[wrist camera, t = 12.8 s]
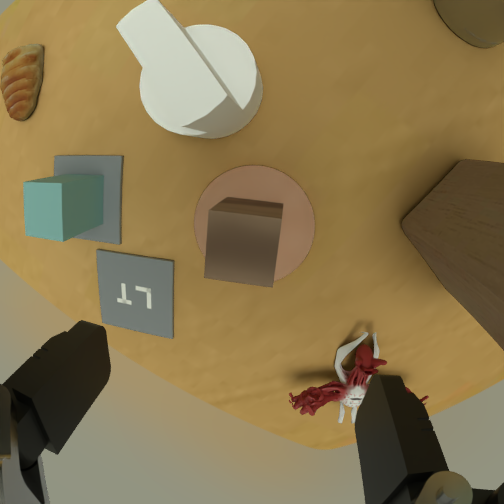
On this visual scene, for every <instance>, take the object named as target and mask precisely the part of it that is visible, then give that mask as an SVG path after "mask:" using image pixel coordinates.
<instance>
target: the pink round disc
mask: <svg viewBox="0 0 504 504" xmlns="http://www.w3.org/2000/svg"><path fill="white" fill-rule="evenodd" d="M226 197H234V198H243V199H252V200H260V201H268V202H276V203H283V213H282V222H281V230H280V238H279V245H278V253H277V260H276V268H275V275H274V281H276V280H279V279H281V278H283V277H285V276H287V275H288V274H290V273H291V272H293V271H294V270H295V269H296V268H297V267H298V266H299V265H300V264H301V263H302V262H303V260H304V259H305V258H306V256H307V254H308V252H309V251H310V248H311V246H312V243H313V239H314V233H315V219H314V213H313V209H312V206H311V203H310V201H309V199H308V197H307V195H306V194H305V192H304V191H303V189H302V188H301V187H300V186H299V185H298V184H297V183H296V182H295V181H294V180H293V179H292V178H291V177H289V176H288V175H286V174H285V173H283V172H281V171H278V170H276V169H273V168H270V167H266V166H259V165H249V166H242V167H238V168H234V169H232V170H229V171H227V172H225V173H223V174H221V175H220V176H218V177H217V178H216V179H214V180H213V181H212V182H211V183H210V184H209V185H208V187H207V188H206V189H205V190H204V192H203V194H202V195H201V197H200V199H199V202H198V204H197V207H196V211H195V217H194V229H195V236H196V240H197V243H198V245H199V248H200V250H201V252H202V254H203V255H204V257H205V256H206V240H207V226H208V212H209V209H211V208H212V207H214V206H215V205H216V204H218V203H219V202H221V201H222V200H223V199H225V198H226Z"/></svg>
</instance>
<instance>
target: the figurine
mask: <svg viewBox="0 0 504 504" xmlns="http://www.w3.org/2000/svg"><path fill="white" fill-rule="evenodd" d="M362 333H364V334H363V335H362V336H361V337H360V338H358V339H356V340H355V341H353V342H351V343H348V344H346V345H344V346H342V347H340V348H339V349H338V350H337V355H336V360H335V369H336V372H337V374H338V376H339V379H340V381H341V383H340V382H337V381H332V382H330V383H328V384H325V385H323V386H321V387H318V388H316V387H309V388H308V389H307V390H304V391H303V392H302V393H301V394H300V395H298V396H295V397H293V395H292V393H289V396H290V397H291V400H292V402H295V404H294V406H293V403H292V402H291V401H290V400H289V402H290V403H292V407H293V408H294V409H298V408H300V407H302V409H301V410H300V413H301V414H302V415H303V414H306V413H308V412H309V414H310V415H311V416H313V415H314V414H315V412H316V410H317V409H318V408H320V407H321V406H323V405H325V404H326V403H327V402H330V401H340V414H339V418H338V422H339V423H342V421H343V417H344V413H345V411H344V407H343V404H345V405H346V406H349V407H352V410H351V414H352V421H351V423H355V419H356V412H357V406H359V405H360V404H361V402H362V400H363V398H364V396H365V393H366V391H367V389H368V387H369V384H368V381H369V379H370V378H371V376H372V374H375V373H378V370H377V369H375V368H376V367H378V366H379V365H386V364H387V361H385V360H382V359H378V356H379V348H378V345H377V342H376V333H373V341H374V355H373V352H372V350H371V348H370V347H369V346H368V345H366V344H362V345H360V346H359V347H358V348H357V350H356V354H355V358H356V359H355V362H356V363H355V365H356V366H355V367H354V368H353V369H352V370H351V371H346V370H344V369H343V368H342V366H341V362H342V360H343V359H344V358H345V356H346V355H347V354H348V353H350V352H351V351H352V350H353V349H354V348H355V347H356V346H357V345H358V344H359V343H360V342H361V341H362V340H363V339H365V338H366V337H367V335H368V333H367V332H362ZM351 376H352V377H351ZM405 388H406V390H407V393H412V392H411V391H410V389H409V388H407V387H405ZM334 391H335V392H334ZM428 397H429V396H425V397H423V398H422V399H420V401H421V402H423V401H424V400H426V399H427V398H428ZM425 404H426V403H425ZM425 404H424V405H425Z"/></svg>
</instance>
